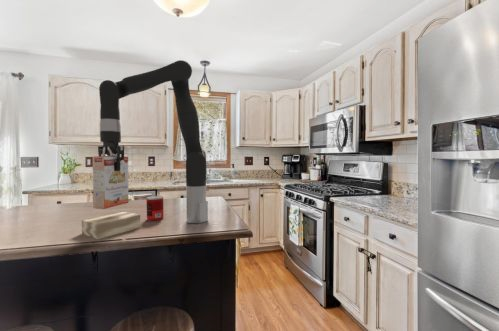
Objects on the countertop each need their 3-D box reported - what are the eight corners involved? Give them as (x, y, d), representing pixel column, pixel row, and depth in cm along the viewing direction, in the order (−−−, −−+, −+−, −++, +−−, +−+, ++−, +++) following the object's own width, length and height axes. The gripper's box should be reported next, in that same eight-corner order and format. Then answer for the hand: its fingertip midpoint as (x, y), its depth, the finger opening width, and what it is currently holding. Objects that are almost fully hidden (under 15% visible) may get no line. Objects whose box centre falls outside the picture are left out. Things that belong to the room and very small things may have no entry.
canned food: (166, 217, 128) (165, 195, 128) (159, 221, 120) (158, 198, 120) (151, 216, 129) (151, 195, 128) (143, 220, 121) (143, 198, 121)
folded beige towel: (140, 228, 110) (140, 214, 110) (97, 239, 95) (97, 224, 94) (124, 224, 116) (124, 211, 116) (82, 234, 101) (81, 219, 101)
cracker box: (105, 209, 98) (104, 156, 97) (92, 209, 99) (91, 156, 98) (129, 202, 111) (128, 155, 111) (118, 202, 113) (116, 156, 112)
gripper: (130, 130, 104) (130, 170, 105) (108, 132, 110) (109, 169, 111) (113, 129, 97) (114, 171, 98) (90, 130, 104) (92, 170, 104)
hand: (111, 170), depth 105 cm, fingers closed on cracker box, 6 cm apart
